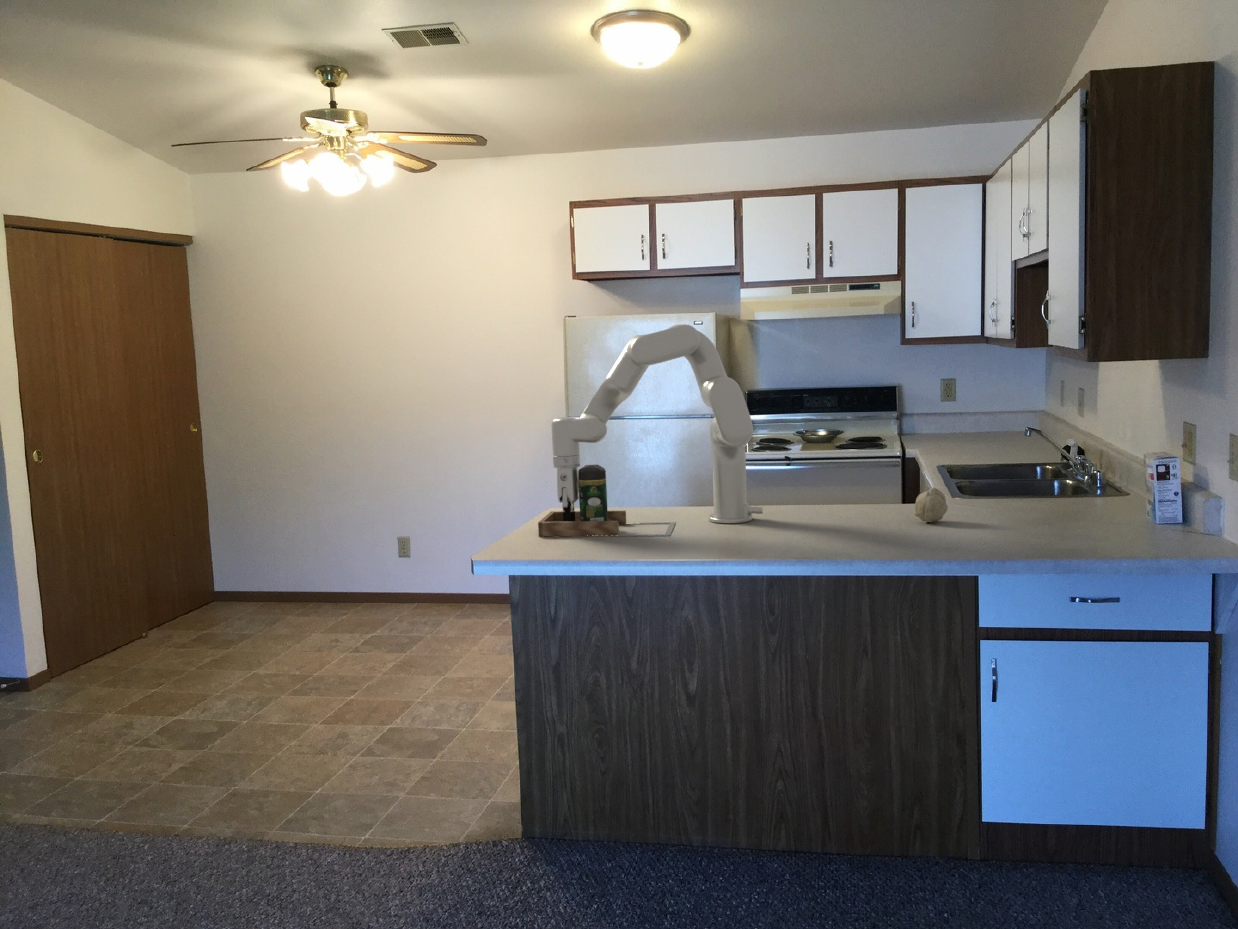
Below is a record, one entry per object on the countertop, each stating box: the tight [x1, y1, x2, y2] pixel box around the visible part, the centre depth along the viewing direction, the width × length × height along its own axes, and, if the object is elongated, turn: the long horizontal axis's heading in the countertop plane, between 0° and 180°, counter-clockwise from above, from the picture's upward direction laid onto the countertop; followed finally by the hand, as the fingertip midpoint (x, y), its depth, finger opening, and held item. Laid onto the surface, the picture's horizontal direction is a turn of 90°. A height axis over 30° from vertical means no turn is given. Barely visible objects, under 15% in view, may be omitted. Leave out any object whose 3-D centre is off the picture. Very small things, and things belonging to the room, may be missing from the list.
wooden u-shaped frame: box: [537, 509, 627, 537], centre depth 275 cm, size 22×17×4 cm
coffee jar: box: [578, 464, 609, 521], centre depth 273 cm, size 10×8×19 cm
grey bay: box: [617, 521, 677, 537], centre depth 273 cm, size 14×19×1 cm
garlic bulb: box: [914, 487, 949, 523], centre depth 266 cm, size 10×8×10 cm
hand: (569, 525), depth 275 cm, fingers closed
